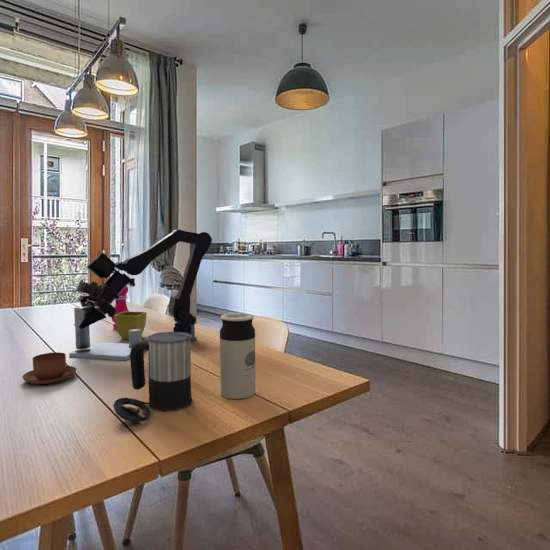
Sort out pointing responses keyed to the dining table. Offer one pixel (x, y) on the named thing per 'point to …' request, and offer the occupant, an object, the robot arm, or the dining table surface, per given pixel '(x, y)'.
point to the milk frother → (160, 375)
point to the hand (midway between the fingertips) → (77, 327)
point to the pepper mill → (121, 304)
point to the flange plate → (110, 348)
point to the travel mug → (237, 356)
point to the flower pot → (129, 322)
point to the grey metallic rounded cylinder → (84, 333)
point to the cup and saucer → (49, 369)
